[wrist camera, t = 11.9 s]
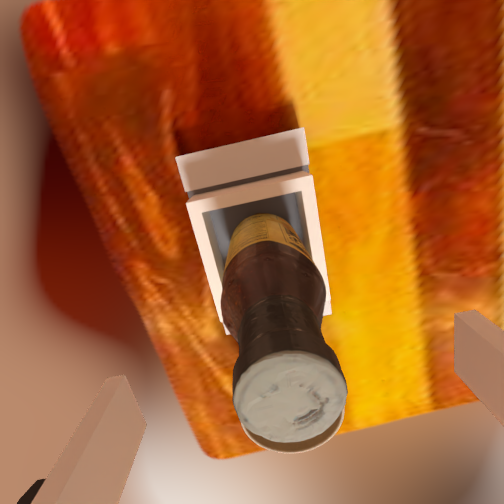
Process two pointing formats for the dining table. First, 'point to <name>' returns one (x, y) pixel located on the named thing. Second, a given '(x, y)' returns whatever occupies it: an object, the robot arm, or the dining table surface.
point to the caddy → (251, 197)
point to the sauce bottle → (279, 333)
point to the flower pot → (297, 446)
